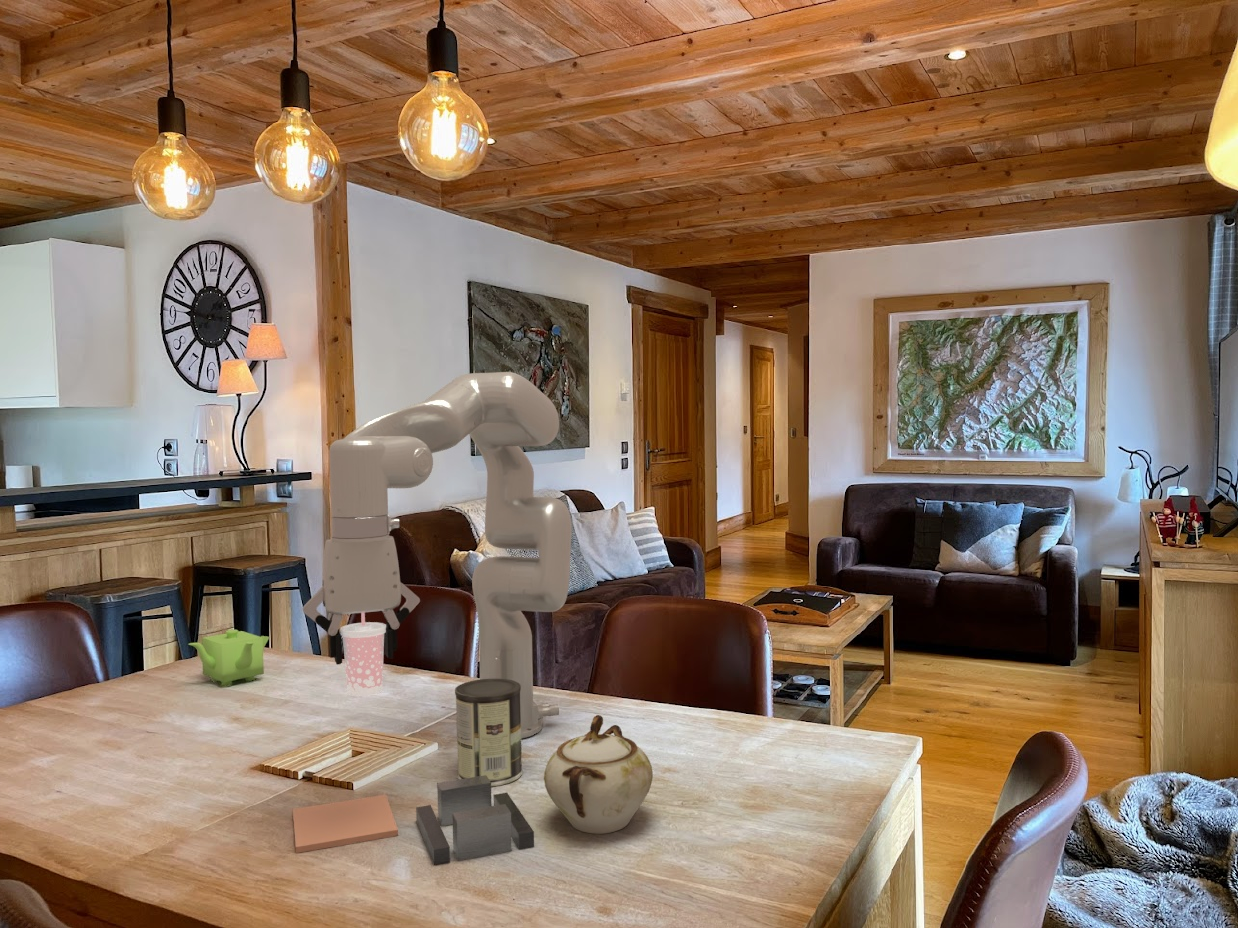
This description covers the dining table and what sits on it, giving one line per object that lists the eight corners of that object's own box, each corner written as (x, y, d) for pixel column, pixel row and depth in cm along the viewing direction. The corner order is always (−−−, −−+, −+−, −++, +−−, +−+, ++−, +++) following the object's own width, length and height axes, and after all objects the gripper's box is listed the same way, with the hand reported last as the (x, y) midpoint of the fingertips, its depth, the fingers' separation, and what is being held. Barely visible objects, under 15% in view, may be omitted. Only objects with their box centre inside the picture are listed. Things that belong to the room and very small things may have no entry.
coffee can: (496, 758, 151) (494, 674, 151) (535, 774, 144) (534, 686, 144) (443, 775, 144) (441, 687, 144) (482, 793, 137) (480, 700, 136)
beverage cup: (381, 697, 122) (379, 594, 122) (336, 698, 122) (333, 594, 121) (392, 684, 128) (390, 586, 128) (349, 685, 128) (346, 586, 128)
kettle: (254, 688, 196) (252, 636, 195) (187, 691, 195) (185, 639, 194) (276, 670, 211) (274, 622, 210) (213, 672, 210) (212, 624, 209)
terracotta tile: (385, 799, 135) (385, 794, 135) (398, 835, 123) (397, 829, 123) (292, 814, 130) (292, 808, 130) (295, 852, 118) (295, 846, 118)
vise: (507, 805, 132) (506, 771, 132) (534, 846, 119) (533, 808, 119) (416, 821, 127) (415, 786, 127) (434, 865, 114) (433, 825, 114)
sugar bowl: (629, 860, 115) (627, 742, 114) (520, 845, 119) (518, 732, 119) (669, 799, 133) (667, 698, 133) (573, 788, 138) (571, 690, 137)
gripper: (418, 522, 131) (422, 646, 132) (291, 530, 124) (295, 660, 125) (429, 527, 124) (432, 658, 125) (294, 535, 117) (299, 673, 118)
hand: (363, 658), depth 125 cm, fingers closed on beverage cup, 6 cm apart
